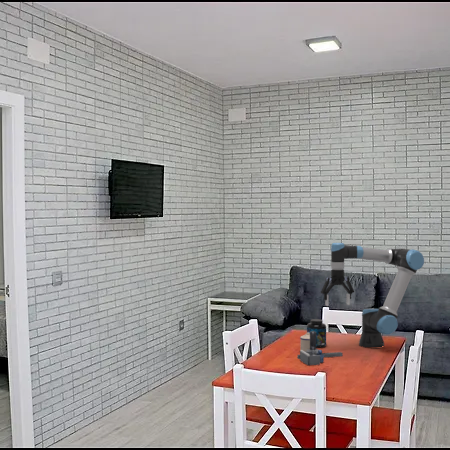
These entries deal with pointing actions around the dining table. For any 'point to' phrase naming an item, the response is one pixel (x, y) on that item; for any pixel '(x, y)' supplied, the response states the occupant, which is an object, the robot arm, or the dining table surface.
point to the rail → (329, 354)
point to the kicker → (313, 346)
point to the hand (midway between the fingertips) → (337, 305)
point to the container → (318, 332)
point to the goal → (309, 358)
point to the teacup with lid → (305, 342)
